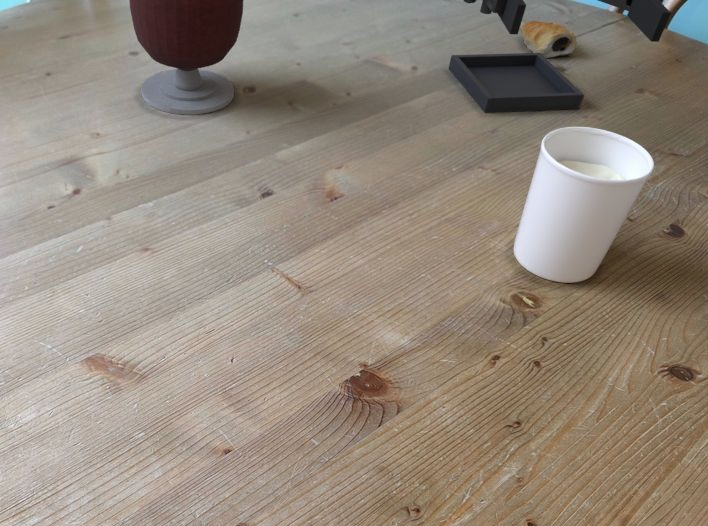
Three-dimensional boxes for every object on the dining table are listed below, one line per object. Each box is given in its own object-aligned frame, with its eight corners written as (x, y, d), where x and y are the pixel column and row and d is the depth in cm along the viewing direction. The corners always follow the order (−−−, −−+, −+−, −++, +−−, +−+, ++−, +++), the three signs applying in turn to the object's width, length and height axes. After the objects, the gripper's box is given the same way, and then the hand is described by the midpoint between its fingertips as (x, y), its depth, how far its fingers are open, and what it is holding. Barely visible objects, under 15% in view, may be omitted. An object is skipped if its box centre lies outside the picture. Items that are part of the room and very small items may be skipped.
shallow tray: (535, 66, 110) (539, 52, 109) (579, 108, 101) (584, 94, 100) (448, 68, 109) (451, 55, 107) (484, 112, 99) (488, 98, 98)
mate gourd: (120, 80, 102) (107, -85, 88) (212, 64, 106) (214, -95, 92) (164, 131, 92) (158, -45, 78) (264, 111, 97) (274, -59, 83)
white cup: (498, 273, 74) (536, 165, 66) (511, 221, 81) (547, 117, 72) (602, 299, 72) (655, 191, 63) (606, 243, 78) (654, 139, 70)
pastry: (507, 35, 118) (514, 10, 116) (544, 33, 120) (552, 8, 117) (539, 60, 112) (548, 34, 109) (578, 57, 114) (587, 31, 111)
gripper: (625, -9, 89) (701, 69, 73) (415, -20, 88) (448, 56, 73) (652, -79, 83) (740, -12, 68) (429, -92, 83) (468, -26, 68)
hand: (589, 23), depth 70 cm, fingers open, 13 cm apart
